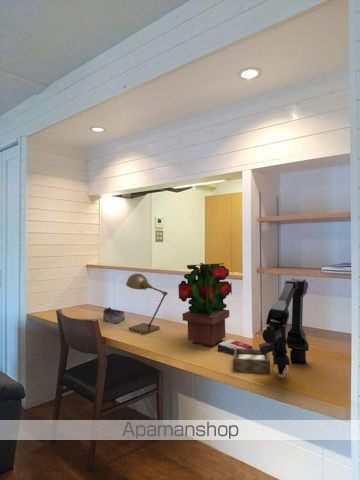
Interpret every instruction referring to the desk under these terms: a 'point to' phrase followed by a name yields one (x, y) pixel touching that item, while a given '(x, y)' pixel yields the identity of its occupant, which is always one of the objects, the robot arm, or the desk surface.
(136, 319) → the desk surface
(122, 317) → the geode
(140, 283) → the lamp
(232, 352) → the calculator
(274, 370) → the ring
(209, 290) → the potted plant
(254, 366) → the base
